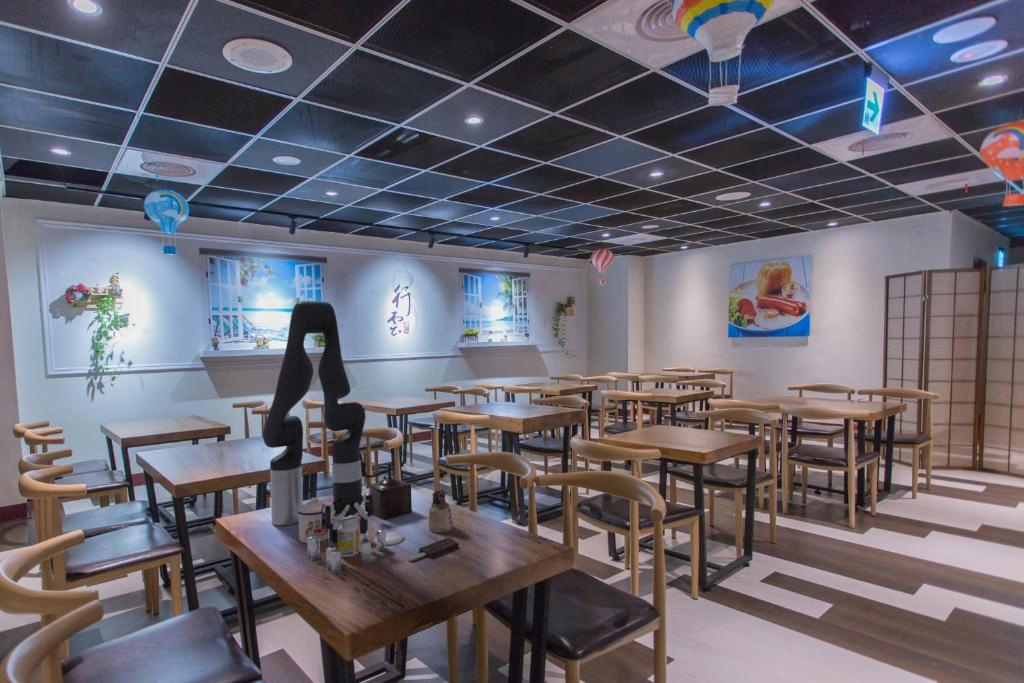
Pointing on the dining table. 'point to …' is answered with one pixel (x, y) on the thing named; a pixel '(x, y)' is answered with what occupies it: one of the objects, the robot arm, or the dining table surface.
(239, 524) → the dining table surface
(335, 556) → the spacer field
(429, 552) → the ice cream bar
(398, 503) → the coffee grinder
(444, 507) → the figurine
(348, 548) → the supplement bottle
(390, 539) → the saucer
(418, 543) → the dining table surface
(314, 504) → the teacup with lid
